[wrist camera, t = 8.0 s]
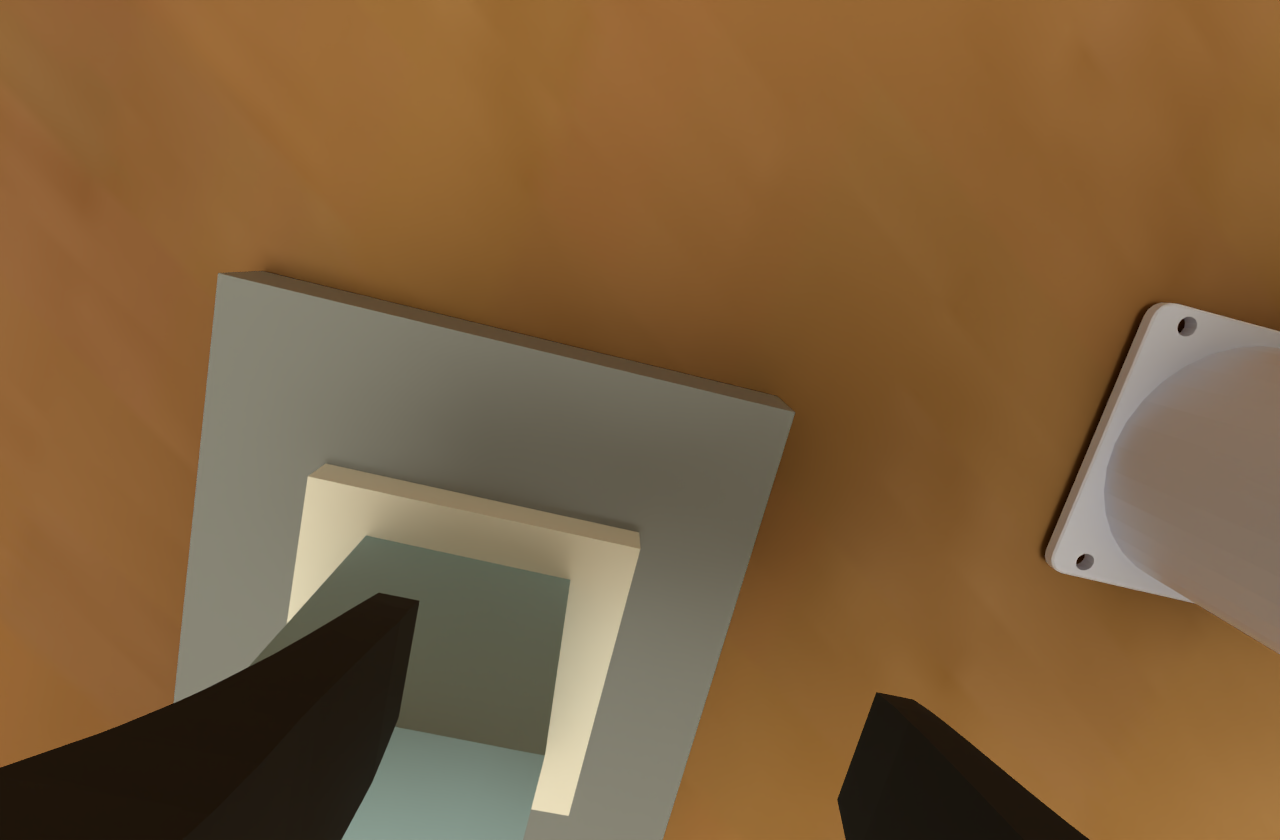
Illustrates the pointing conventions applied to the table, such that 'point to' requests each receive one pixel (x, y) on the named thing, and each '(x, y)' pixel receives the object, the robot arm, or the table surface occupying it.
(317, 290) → the base board
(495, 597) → the block
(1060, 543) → the robot arm
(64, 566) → the table surface
